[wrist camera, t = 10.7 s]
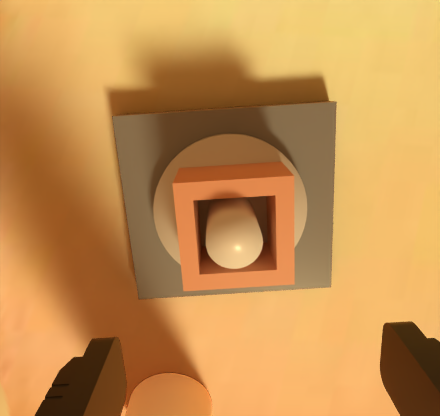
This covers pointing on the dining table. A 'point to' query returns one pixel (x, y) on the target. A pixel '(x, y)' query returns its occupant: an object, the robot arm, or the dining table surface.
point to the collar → (236, 188)
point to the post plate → (189, 125)
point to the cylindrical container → (169, 397)
